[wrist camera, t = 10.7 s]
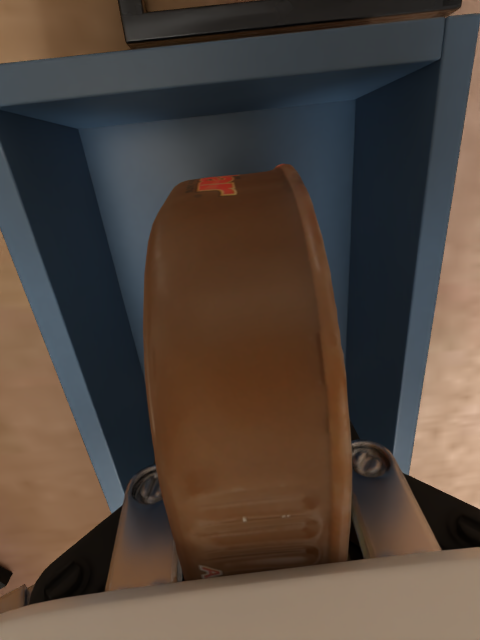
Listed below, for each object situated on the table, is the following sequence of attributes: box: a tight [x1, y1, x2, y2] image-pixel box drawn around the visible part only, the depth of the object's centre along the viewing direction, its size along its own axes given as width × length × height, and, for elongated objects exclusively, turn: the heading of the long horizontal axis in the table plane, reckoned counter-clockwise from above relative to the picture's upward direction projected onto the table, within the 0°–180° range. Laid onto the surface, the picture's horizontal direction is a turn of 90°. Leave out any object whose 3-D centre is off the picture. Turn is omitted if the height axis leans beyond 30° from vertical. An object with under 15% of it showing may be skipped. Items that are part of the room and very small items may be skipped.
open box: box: [0, 13, 480, 513], centre depth 15 cm, size 12×20×6 cm, turn 6°
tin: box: [143, 164, 352, 581], centre depth 10 cm, size 15×3×8 cm, turn 5°
